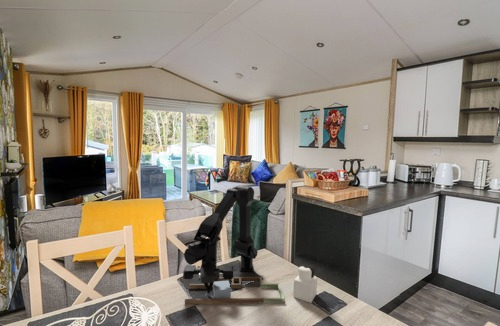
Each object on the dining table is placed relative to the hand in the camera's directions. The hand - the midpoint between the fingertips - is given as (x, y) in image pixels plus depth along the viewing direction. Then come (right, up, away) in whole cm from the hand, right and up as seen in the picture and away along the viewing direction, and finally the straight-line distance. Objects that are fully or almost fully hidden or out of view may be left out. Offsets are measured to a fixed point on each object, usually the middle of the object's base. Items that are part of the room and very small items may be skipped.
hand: (208, 292), depth 101 cm
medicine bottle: (+38, -2, +2) cm, 38 cm away
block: (+5, -1, +1) cm, 5 cm away
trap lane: (+10, -1, +3) cm, 11 cm away
